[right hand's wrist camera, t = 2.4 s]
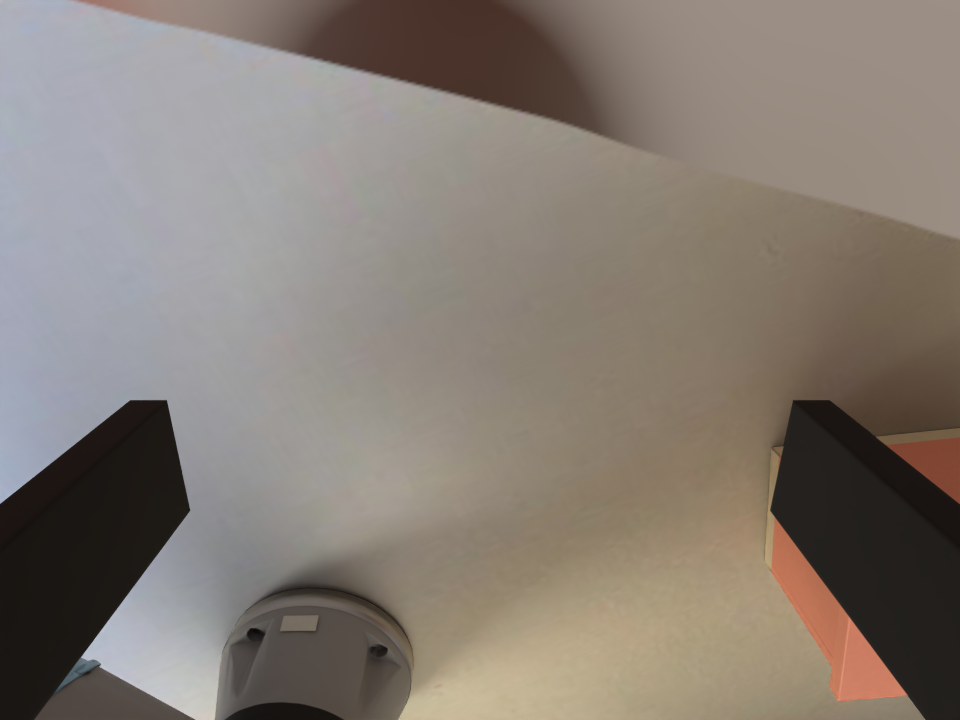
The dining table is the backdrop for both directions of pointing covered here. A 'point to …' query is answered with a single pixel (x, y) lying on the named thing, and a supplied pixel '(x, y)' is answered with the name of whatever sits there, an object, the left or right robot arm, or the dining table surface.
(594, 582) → the dining table surface
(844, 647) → the lid
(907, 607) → the right robot arm
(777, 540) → the chest
